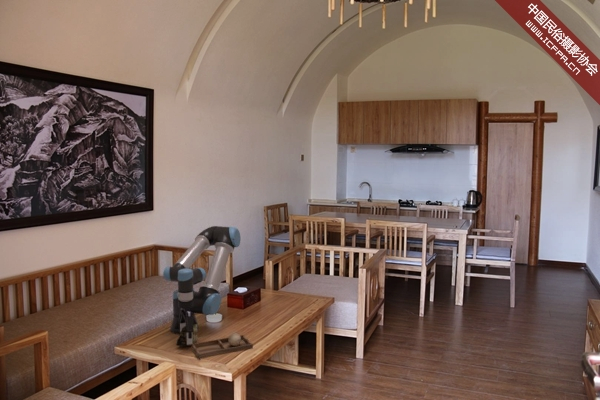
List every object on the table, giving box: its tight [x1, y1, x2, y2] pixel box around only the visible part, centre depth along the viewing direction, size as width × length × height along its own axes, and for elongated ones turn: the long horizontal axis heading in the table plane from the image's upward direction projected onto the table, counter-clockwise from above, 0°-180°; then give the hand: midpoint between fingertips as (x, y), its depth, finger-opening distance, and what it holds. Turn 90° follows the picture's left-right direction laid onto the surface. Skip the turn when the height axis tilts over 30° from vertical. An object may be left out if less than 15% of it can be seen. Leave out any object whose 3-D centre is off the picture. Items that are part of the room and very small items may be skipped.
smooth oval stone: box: [227, 332, 241, 346], centre depth 249 cm, size 7×7×7 cm
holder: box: [191, 334, 254, 361], centre depth 247 cm, size 14×27×3 cm, turn 117°
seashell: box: [176, 324, 198, 347], centre depth 253 cm, size 11×11×10 cm
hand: (186, 339), depth 252 cm, fingers open, 13 cm apart
